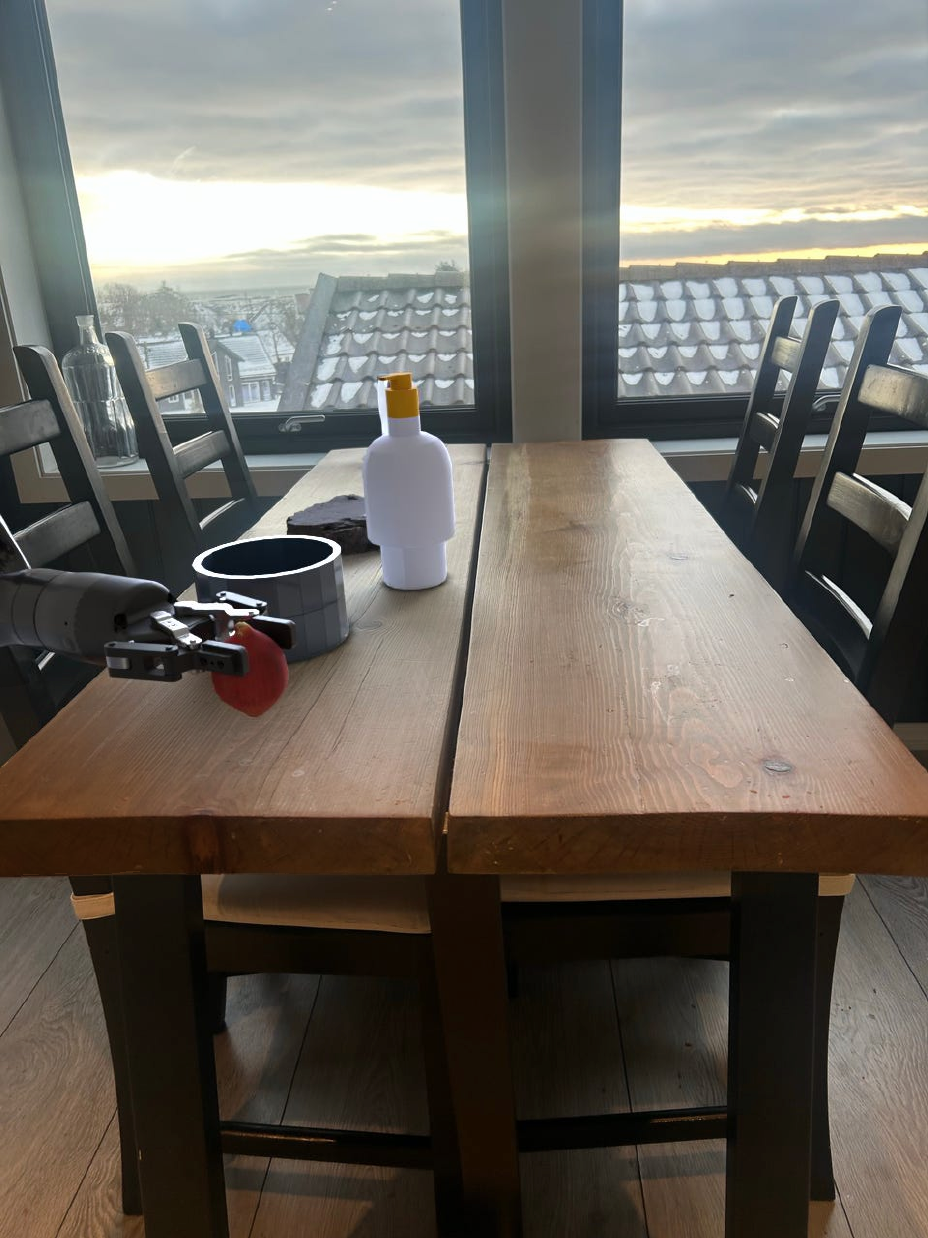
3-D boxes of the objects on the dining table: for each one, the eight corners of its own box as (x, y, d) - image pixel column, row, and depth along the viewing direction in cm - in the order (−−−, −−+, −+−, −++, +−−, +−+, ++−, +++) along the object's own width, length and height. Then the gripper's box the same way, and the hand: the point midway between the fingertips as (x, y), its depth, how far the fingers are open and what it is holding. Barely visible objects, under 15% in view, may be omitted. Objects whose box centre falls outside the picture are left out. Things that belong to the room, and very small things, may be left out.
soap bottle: (354, 587, 118) (334, 378, 109) (410, 564, 125) (395, 366, 117) (421, 601, 112) (405, 381, 103) (476, 576, 119) (465, 369, 111)
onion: (249, 694, 82) (236, 603, 79) (307, 706, 79) (297, 612, 76) (202, 725, 77) (187, 630, 74) (263, 739, 75) (250, 640, 72)
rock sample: (297, 565, 127) (293, 527, 125) (278, 535, 141) (274, 501, 139) (428, 546, 132) (426, 510, 130) (397, 519, 146) (394, 486, 144)
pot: (288, 676, 94) (277, 585, 91) (175, 653, 101) (161, 568, 98) (376, 624, 106) (369, 542, 102) (269, 607, 113) (259, 530, 109)
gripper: (26, 604, 75) (198, 634, 68) (162, 553, 87) (322, 573, 80) (45, 695, 78) (213, 733, 70) (174, 633, 90) (330, 660, 82)
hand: (269, 648), depth 75 cm, fingers closed on onion, 5 cm apart
